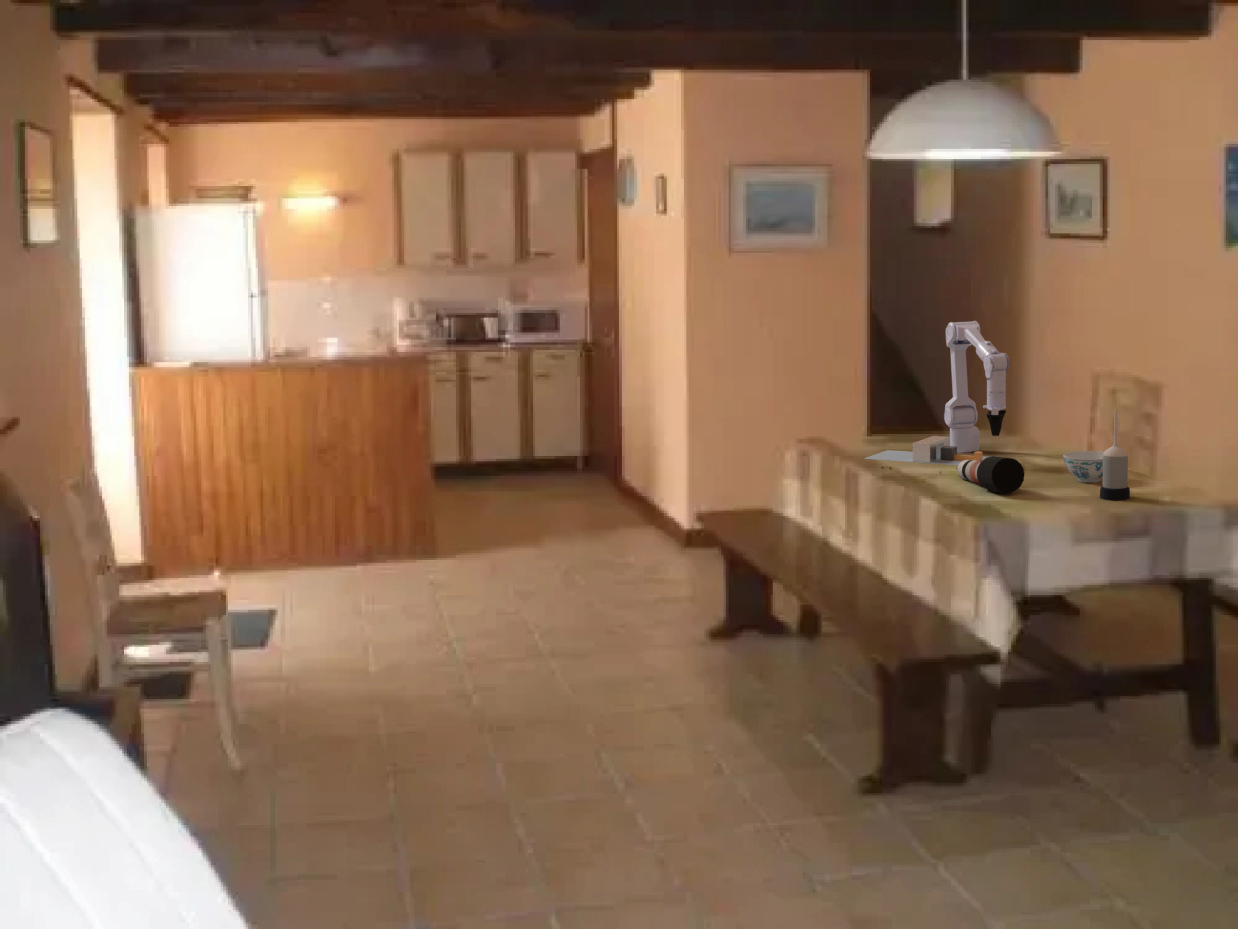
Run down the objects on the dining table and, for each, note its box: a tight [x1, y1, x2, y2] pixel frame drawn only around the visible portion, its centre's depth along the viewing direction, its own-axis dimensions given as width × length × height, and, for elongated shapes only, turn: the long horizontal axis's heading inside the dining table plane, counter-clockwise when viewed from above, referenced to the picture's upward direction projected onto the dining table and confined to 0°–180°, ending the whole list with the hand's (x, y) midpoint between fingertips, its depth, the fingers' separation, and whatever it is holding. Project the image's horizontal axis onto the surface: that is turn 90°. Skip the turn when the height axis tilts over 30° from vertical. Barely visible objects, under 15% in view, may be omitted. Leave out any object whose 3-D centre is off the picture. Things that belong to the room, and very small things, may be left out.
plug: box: [941, 446, 984, 461], centre depth 501 cm, size 13×4×4 cm, turn 55°
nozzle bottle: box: [1099, 409, 1131, 502], centre depth 436 cm, size 8×8×25 cm
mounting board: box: [863, 449, 988, 466], centre depth 508 cm, size 39×18×1 cm, turn 55°
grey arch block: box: [912, 435, 950, 464], centre depth 507 cm, size 6×16×6 cm, turn 145°
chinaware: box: [1063, 450, 1105, 484], centre depth 464 cm, size 15×15×8 cm
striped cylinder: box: [955, 455, 1025, 494], centre depth 462 cm, size 10×34×10 cm, turn 10°
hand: (996, 434), depth 494 cm, fingers open, 5 cm apart
